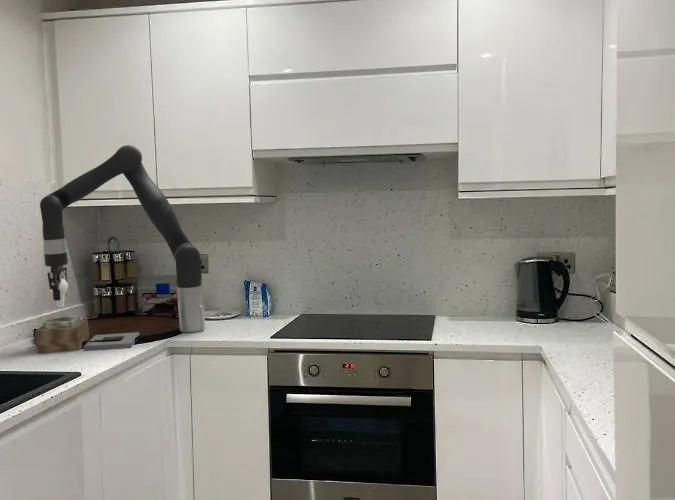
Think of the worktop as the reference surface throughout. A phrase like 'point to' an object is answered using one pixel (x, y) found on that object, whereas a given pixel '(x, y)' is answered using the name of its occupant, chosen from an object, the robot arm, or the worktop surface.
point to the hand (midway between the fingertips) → (60, 298)
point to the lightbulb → (61, 293)
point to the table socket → (124, 343)
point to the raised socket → (62, 334)
